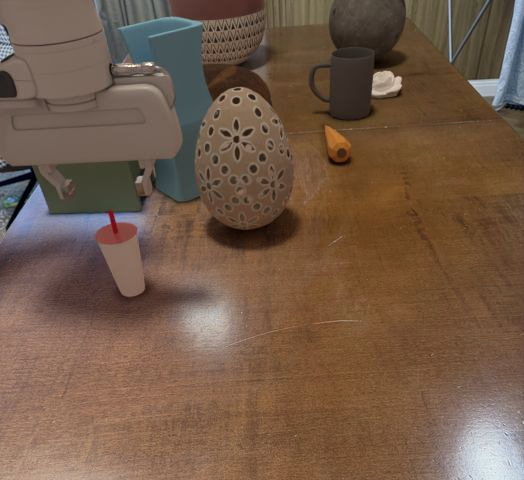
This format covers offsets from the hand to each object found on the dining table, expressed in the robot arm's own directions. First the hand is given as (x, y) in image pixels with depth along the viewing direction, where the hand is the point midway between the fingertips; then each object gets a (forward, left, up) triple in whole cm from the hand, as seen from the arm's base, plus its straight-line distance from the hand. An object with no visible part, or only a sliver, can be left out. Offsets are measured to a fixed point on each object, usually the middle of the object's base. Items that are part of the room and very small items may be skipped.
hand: (107, 195), depth 60 cm
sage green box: (-12, +28, -14) cm, 34 cm away
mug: (+32, +64, -14) cm, 73 cm away
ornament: (+15, +17, -14) cm, 27 cm away
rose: (+43, +77, -14) cm, 89 cm away
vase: (+3, +31, -14) cm, 34 cm away
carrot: (+30, +47, -14) cm, 57 cm away
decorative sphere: (+41, +103, -14) cm, 112 cm away
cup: (0, 0, -14) cm, 14 cm away
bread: (+2, +70, -14) cm, 71 cm away
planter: (+1, +108, -14) cm, 109 cm away
